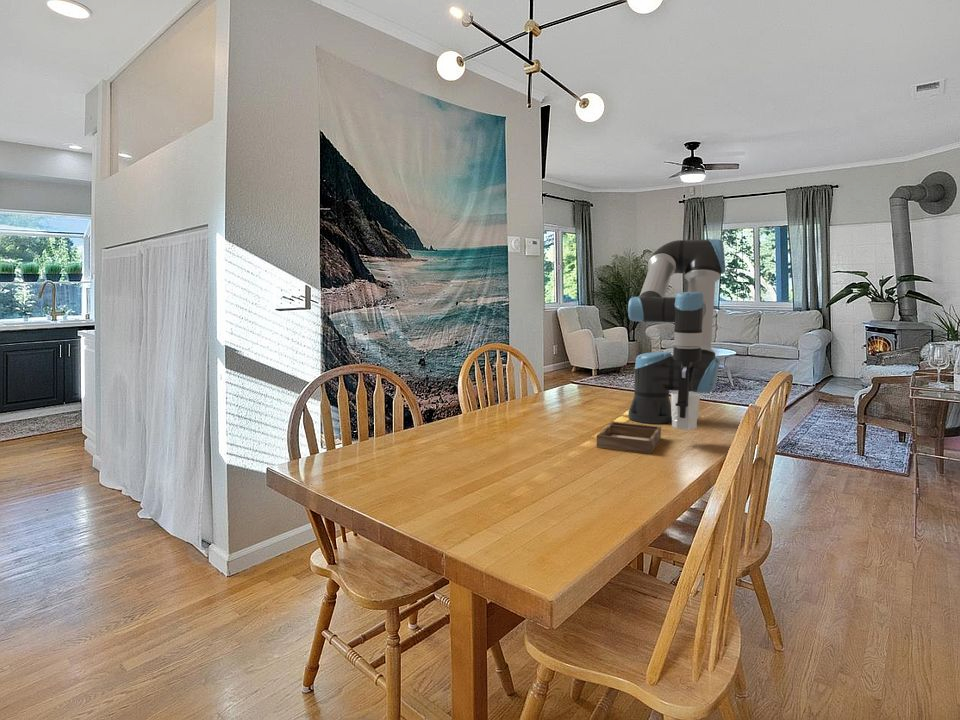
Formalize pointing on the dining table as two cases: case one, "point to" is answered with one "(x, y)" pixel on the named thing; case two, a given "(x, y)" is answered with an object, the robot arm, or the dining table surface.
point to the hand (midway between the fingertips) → (684, 424)
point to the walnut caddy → (629, 437)
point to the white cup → (692, 409)
